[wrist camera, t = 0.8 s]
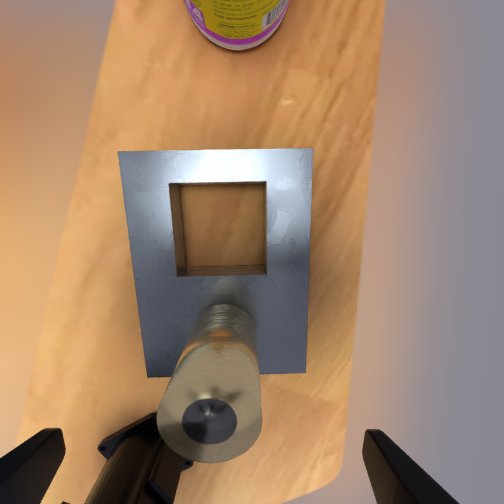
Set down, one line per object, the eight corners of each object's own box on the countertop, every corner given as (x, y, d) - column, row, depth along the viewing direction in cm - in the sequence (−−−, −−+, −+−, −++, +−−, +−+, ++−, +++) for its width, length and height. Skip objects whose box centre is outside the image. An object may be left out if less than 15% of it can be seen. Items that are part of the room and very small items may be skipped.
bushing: (215, 371, 18) (195, 478, 11) (180, 324, 17) (134, 408, 10) (268, 342, 17) (281, 435, 10) (234, 292, 17) (225, 358, 10)
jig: (298, 352, 20) (305, 373, 18) (159, 356, 20) (147, 377, 18) (303, 155, 17) (313, 148, 15) (136, 158, 17) (117, 151, 14)
